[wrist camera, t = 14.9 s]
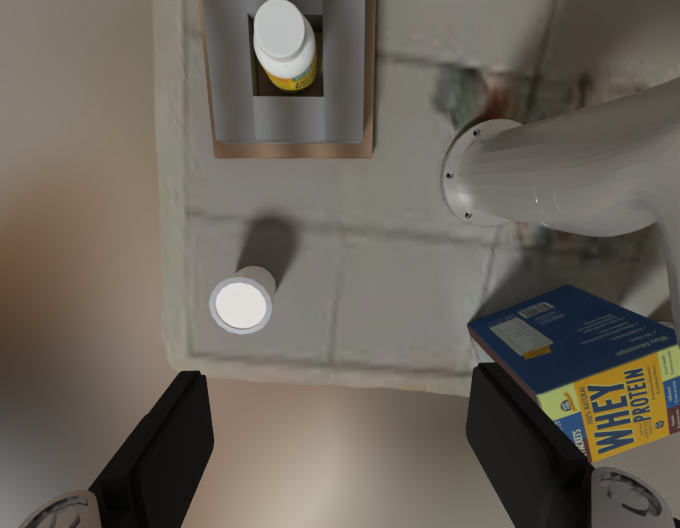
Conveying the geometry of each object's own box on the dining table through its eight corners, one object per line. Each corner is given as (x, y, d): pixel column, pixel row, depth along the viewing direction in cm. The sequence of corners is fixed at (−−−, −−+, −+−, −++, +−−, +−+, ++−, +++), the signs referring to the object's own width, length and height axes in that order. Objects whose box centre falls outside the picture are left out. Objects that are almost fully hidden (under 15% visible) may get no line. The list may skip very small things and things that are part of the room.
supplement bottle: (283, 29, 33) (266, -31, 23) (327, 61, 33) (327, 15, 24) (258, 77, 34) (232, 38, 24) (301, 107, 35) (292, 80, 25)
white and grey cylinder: (227, 258, 40) (208, 274, 33) (281, 262, 41) (273, 279, 34) (228, 308, 42) (209, 333, 35) (279, 311, 42) (271, 336, 36)
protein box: (583, 344, 46) (708, 423, 31) (484, 381, 47) (558, 476, 32) (569, 282, 43) (699, 336, 28) (464, 323, 44) (536, 396, 29)
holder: (374, -22, 33) (382, -56, 28) (370, 158, 38) (376, 155, 33) (200, -26, 32) (178, -62, 27) (218, 158, 37) (202, 154, 32)
